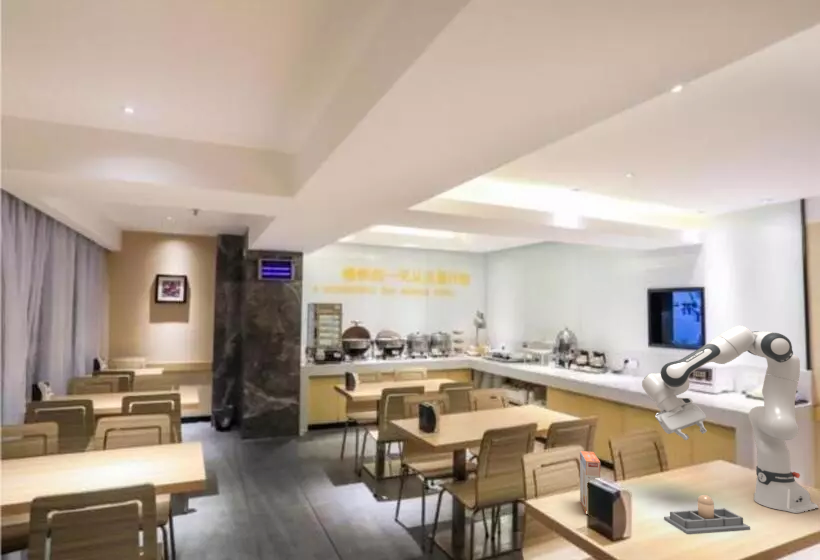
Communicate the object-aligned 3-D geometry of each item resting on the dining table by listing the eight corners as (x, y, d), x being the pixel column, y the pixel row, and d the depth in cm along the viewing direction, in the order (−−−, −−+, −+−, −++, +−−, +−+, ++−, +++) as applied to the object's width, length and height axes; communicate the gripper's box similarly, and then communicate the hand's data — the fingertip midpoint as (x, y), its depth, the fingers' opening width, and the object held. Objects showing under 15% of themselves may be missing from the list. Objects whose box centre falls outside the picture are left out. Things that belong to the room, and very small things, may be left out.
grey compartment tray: (723, 515, 185) (723, 506, 185) (750, 529, 173) (749, 519, 174) (664, 519, 181) (663, 510, 181) (687, 534, 169) (687, 524, 169)
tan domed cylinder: (706, 518, 180) (706, 492, 181) (717, 524, 175) (717, 497, 176) (694, 519, 179) (694, 493, 180) (705, 525, 174) (704, 498, 175)
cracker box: (601, 516, 182) (601, 461, 184) (585, 515, 184) (584, 460, 185) (595, 502, 196) (594, 451, 198) (579, 501, 197) (579, 450, 199)
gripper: (656, 410, 198) (680, 439, 188) (693, 397, 204) (718, 424, 194) (649, 418, 202) (673, 447, 193) (686, 405, 208) (710, 432, 199)
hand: (696, 435), depth 193 cm, fingers open, 8 cm apart
